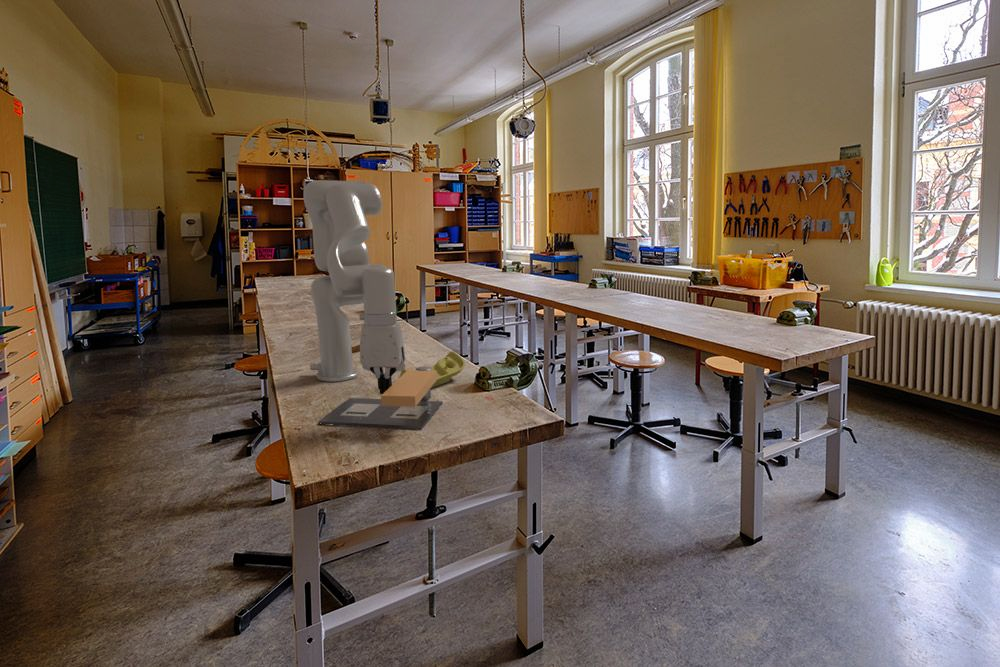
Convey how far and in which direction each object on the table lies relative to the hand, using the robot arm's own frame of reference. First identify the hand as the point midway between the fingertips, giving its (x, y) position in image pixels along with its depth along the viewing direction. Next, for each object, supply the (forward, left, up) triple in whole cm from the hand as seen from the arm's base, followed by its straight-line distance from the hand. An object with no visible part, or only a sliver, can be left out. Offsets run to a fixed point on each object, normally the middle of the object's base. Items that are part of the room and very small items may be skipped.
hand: (385, 392), depth 141 cm
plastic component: (+3, +31, -7) cm, 32 cm away
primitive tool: (-38, +62, -7) cm, 73 cm away
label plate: (-2, +5, -6) cm, 8 cm away
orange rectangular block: (+6, +4, 0) cm, 7 cm away
